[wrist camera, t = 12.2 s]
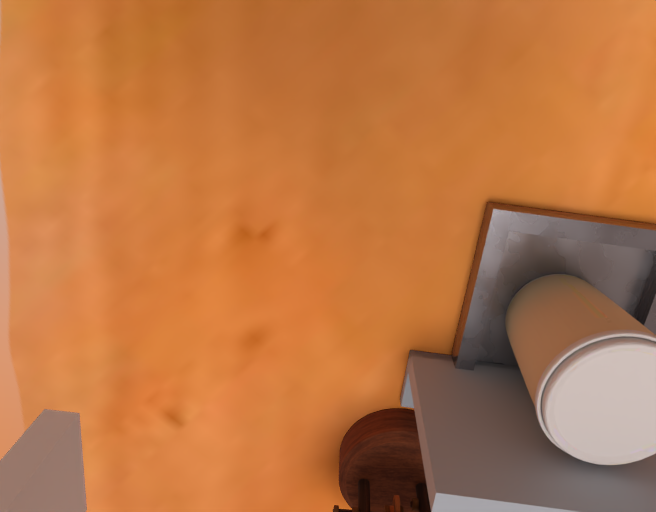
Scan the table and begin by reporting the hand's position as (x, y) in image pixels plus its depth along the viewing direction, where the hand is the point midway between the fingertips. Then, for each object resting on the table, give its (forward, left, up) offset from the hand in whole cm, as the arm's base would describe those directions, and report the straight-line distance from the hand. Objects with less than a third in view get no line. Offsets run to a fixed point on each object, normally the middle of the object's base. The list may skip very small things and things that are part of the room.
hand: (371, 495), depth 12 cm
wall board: (+16, +17, -31) cm, 39 cm away
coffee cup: (+9, +17, -31) cm, 37 cm away
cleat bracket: (+8, +17, -31) cm, 37 cm away
